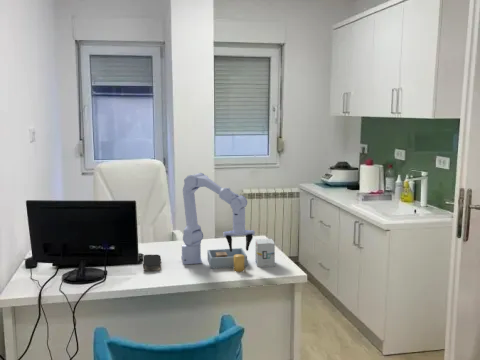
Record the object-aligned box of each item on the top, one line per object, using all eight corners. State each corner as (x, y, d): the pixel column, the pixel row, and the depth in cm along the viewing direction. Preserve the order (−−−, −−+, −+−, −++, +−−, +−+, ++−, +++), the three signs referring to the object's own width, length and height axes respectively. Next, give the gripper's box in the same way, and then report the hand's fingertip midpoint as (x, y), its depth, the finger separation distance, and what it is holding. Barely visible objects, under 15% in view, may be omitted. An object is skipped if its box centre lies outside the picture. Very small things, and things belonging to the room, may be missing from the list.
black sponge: (143, 261, 243) (143, 254, 242) (160, 260, 244) (160, 253, 244) (142, 272, 227) (142, 265, 226) (161, 271, 228) (161, 264, 228)
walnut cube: (217, 265, 234) (216, 255, 233) (215, 262, 239) (215, 252, 238) (227, 264, 235) (227, 254, 234) (225, 261, 240) (225, 251, 239)
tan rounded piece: (234, 272, 227) (234, 257, 226) (232, 268, 231) (232, 254, 230) (245, 271, 227) (245, 257, 226) (243, 268, 232) (243, 253, 231)
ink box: (255, 261, 242) (255, 238, 240) (272, 261, 243) (272, 238, 241) (257, 267, 234) (257, 243, 232) (274, 266, 234) (275, 243, 233)
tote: (210, 268, 232) (210, 258, 231) (207, 259, 245) (207, 249, 244) (247, 266, 235) (247, 256, 234) (242, 257, 248) (242, 248, 247)
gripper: (224, 225, 221) (224, 254, 223) (256, 223, 223) (256, 252, 225) (222, 221, 228) (222, 249, 230) (252, 220, 230) (252, 247, 232)
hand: (239, 250), depth 228 cm, fingers open, 7 cm apart
